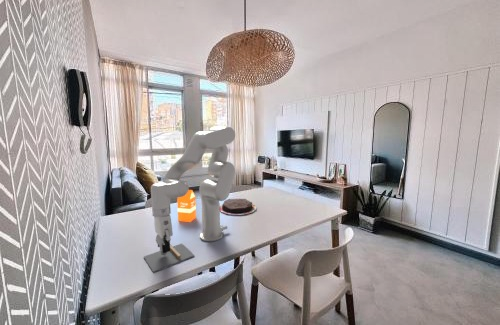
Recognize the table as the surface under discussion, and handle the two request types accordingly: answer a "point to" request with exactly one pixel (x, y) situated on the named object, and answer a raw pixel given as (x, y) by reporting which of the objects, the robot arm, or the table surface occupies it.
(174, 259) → the mat
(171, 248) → the rail
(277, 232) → the table surface
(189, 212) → the orange juice
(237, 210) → the chocolate cake
